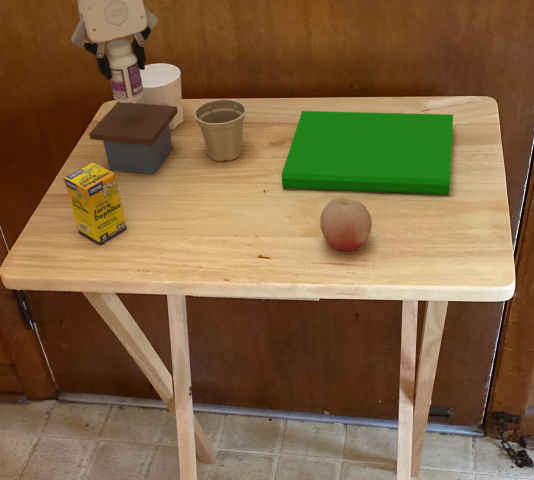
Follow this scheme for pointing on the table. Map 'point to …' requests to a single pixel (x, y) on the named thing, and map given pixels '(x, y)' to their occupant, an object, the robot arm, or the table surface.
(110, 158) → the stand
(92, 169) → the supplement box
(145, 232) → the table surface
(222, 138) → the flower pot
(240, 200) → the table surface
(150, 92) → the cup
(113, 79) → the pill bottle
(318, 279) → the table surface
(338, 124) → the book
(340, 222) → the fruit
